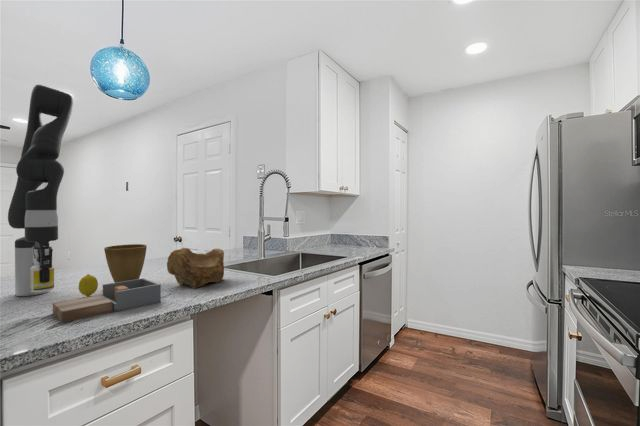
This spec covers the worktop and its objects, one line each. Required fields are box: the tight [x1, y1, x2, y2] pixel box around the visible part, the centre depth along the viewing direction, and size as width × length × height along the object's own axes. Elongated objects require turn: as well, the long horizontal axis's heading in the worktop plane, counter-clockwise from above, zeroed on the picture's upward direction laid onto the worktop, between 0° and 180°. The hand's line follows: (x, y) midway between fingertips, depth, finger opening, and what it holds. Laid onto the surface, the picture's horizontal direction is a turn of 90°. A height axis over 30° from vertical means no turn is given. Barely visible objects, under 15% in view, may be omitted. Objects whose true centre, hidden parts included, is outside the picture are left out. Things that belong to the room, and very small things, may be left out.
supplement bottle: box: [30, 259, 55, 293], centre depth 94 cm, size 5×5×10 cm
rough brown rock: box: [166, 247, 225, 289], centre depth 129 cm, size 23×17×15 cm
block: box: [115, 286, 129, 303], centre depth 102 cm, size 5×5×2 cm
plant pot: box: [103, 243, 148, 283], centre depth 128 cm, size 15×15×16 cm
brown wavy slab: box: [52, 294, 113, 323], centre depth 94 cm, size 12×12×3 cm
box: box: [100, 278, 162, 313], centre depth 104 cm, size 14×14×6 cm
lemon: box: [78, 273, 99, 297], centre depth 111 cm, size 6×6×8 cm
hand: (42, 280), depth 94 cm, fingers closed on supplement bottle, 5 cm apart
